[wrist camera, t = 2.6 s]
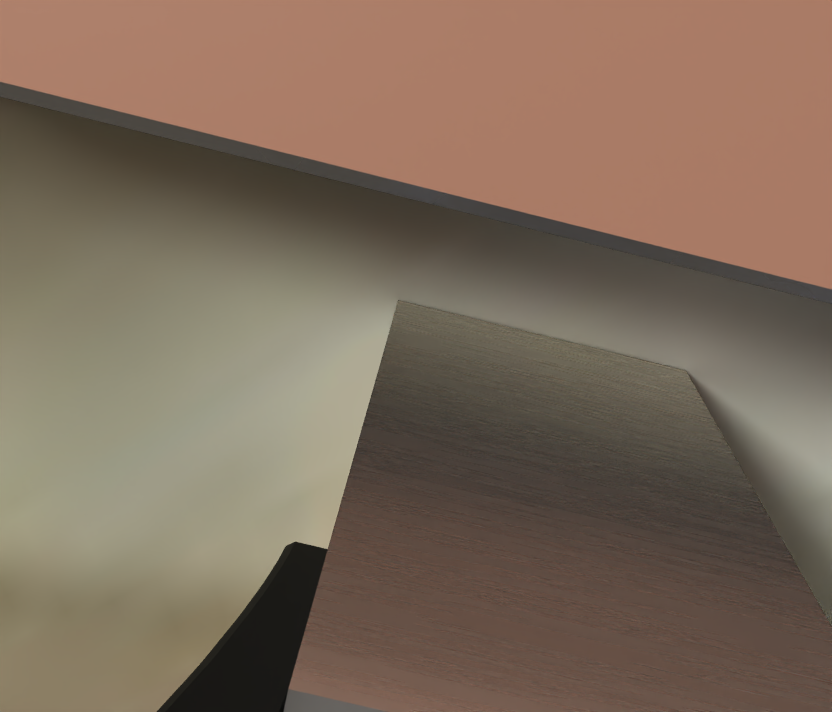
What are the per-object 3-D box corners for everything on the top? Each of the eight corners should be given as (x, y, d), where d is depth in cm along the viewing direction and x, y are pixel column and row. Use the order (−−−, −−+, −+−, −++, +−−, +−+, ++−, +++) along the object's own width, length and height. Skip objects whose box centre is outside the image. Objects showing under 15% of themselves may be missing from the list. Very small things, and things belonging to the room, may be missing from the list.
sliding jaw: (1454, 117, 7) (2176, 195, 4) (1271, 328, 8) (1727, 513, 5) (-312, -348, 6) (-973, -647, 3) (-258, -58, 7) (-733, -102, 4)
